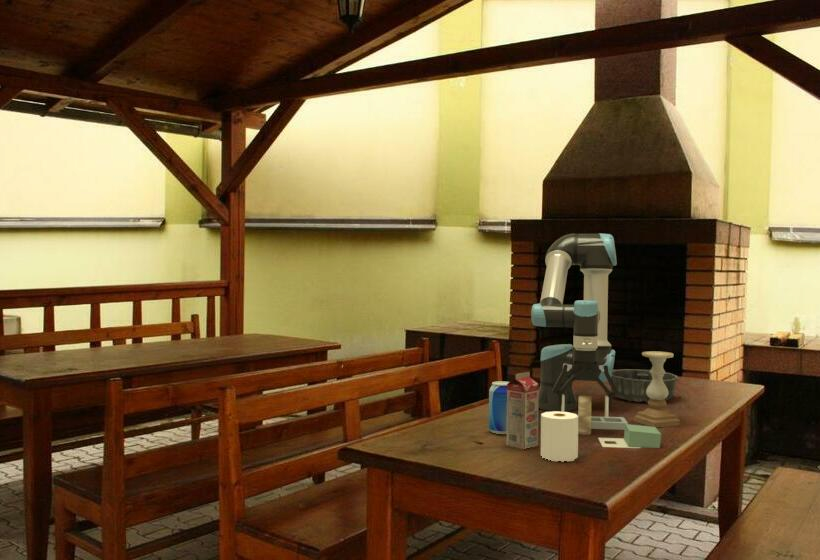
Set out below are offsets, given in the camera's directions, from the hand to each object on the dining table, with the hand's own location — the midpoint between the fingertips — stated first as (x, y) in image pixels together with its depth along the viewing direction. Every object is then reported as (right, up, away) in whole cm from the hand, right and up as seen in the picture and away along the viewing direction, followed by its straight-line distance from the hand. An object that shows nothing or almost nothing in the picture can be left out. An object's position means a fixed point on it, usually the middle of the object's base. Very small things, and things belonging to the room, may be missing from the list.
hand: (584, 416), depth 240 cm
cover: (+14, -6, -12) cm, 20 cm away
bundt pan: (+36, -4, +59) cm, 69 cm away
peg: (0, -6, +1) cm, 6 cm away
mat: (+8, -6, -11) cm, 15 cm away
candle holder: (+28, -6, +16) cm, 33 cm away
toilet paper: (-13, -7, -26) cm, 30 cm away
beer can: (-26, -6, +3) cm, 27 cm away
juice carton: (-22, -7, -14) cm, 27 cm away
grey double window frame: (+8, -6, +11) cm, 15 cm away
